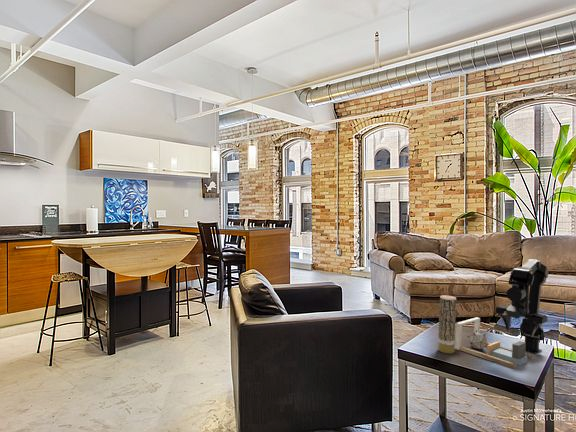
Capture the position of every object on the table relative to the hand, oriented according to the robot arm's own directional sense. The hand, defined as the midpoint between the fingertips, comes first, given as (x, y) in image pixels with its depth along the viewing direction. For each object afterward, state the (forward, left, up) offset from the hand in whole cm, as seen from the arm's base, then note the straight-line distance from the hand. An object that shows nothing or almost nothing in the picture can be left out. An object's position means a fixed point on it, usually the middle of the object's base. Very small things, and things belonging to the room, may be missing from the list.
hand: (519, 333), depth 162 cm
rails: (0, -9, -12) cm, 15 cm away
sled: (0, -4, -12) cm, 13 cm away
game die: (0, -17, -13) cm, 21 cm away
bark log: (+16, -24, -13) cm, 31 cm away
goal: (0, -22, -12) cm, 26 cm away
